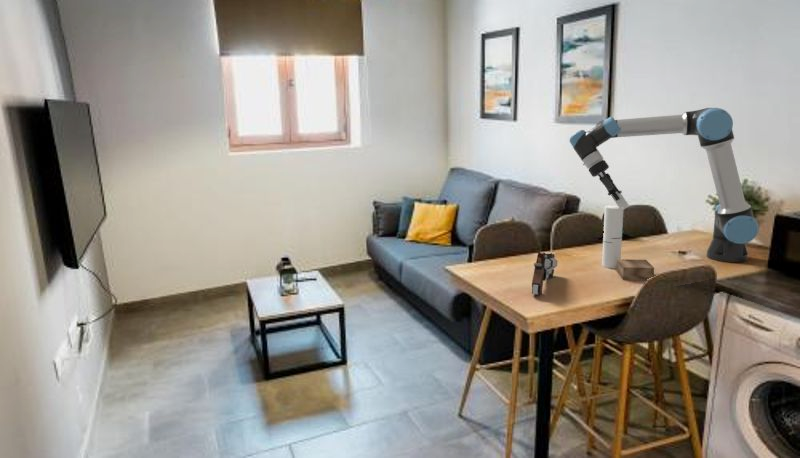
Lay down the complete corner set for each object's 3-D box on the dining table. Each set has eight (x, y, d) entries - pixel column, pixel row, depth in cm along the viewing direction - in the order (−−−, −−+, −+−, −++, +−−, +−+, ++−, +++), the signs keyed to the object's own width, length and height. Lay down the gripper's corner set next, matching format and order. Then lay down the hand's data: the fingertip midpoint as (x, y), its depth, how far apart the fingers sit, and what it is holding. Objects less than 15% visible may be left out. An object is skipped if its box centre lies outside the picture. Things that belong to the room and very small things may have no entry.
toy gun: (555, 290, 219) (558, 253, 219) (541, 295, 194) (544, 252, 194) (543, 289, 221) (546, 252, 221) (528, 293, 196) (531, 251, 196)
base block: (645, 271, 220) (646, 259, 219) (653, 280, 209) (654, 267, 208) (616, 271, 222) (617, 259, 221) (622, 279, 211) (623, 267, 210)
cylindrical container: (621, 268, 225) (625, 208, 219) (603, 268, 226) (606, 208, 221) (618, 263, 232) (621, 205, 226) (600, 263, 233) (603, 205, 228)
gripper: (592, 172, 241) (619, 213, 236) (583, 166, 219) (612, 211, 214) (607, 162, 238) (635, 203, 233) (599, 155, 216) (630, 201, 211)
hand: (624, 207), depth 224 cm, fingers open, 13 cm apart
